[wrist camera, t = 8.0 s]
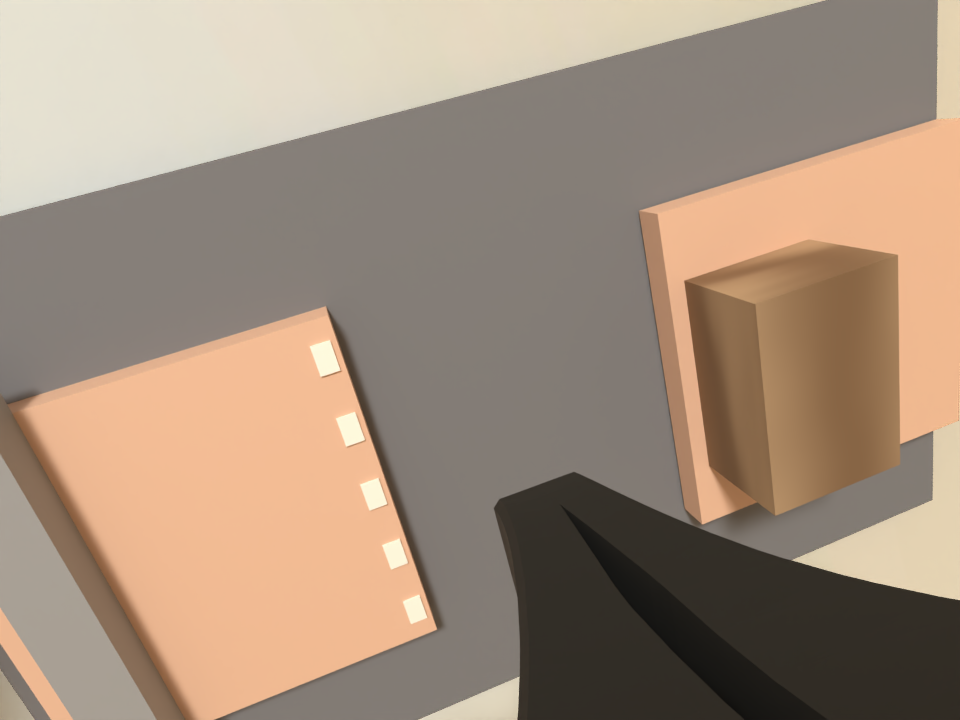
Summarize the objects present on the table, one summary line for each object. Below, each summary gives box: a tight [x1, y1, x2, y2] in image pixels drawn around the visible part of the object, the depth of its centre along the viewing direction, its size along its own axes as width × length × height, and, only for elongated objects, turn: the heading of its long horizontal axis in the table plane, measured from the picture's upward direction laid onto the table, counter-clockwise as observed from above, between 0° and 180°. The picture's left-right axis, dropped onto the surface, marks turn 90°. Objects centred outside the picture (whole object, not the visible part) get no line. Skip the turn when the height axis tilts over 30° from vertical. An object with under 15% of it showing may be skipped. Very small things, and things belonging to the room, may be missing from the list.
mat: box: [0, 0, 938, 720], centre depth 19 cm, size 30×18×1 cm, turn 104°
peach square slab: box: [639, 118, 960, 524], centre depth 19 cm, size 10×10×4 cm
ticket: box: [0, 306, 437, 720], centre depth 17 cm, size 10×12×2 cm
